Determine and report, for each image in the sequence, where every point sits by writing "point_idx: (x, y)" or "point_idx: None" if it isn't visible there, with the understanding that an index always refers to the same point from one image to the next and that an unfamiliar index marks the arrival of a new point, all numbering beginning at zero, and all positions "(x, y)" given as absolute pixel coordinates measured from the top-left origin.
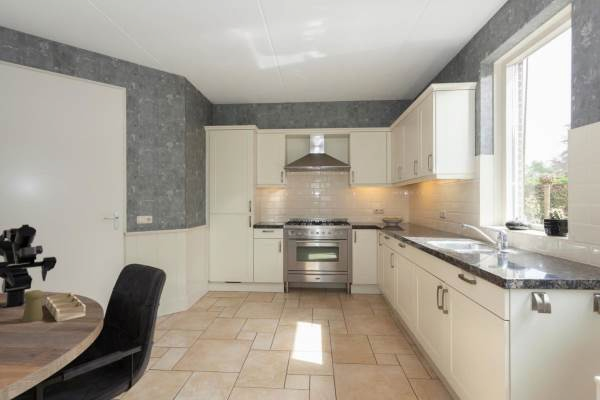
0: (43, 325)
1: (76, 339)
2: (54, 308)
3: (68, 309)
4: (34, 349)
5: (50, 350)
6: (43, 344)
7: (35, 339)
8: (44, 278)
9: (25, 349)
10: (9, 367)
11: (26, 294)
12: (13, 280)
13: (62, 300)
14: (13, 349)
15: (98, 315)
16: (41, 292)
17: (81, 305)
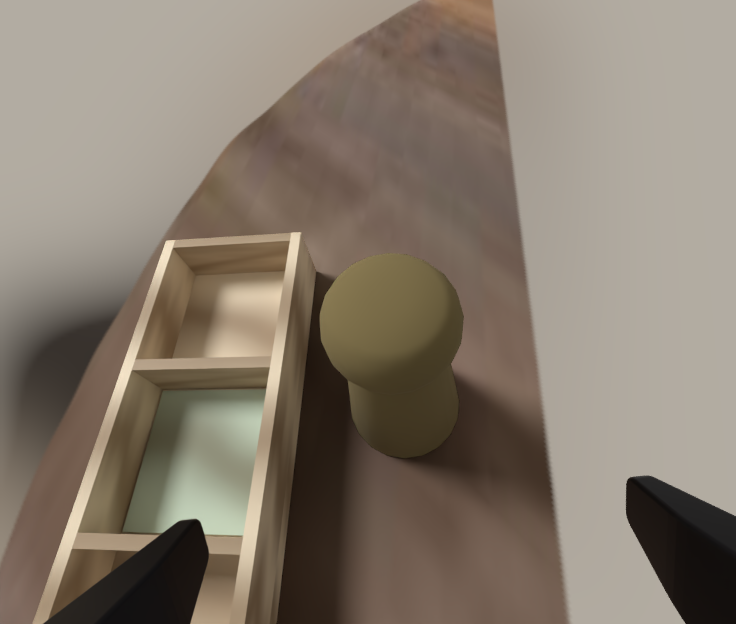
0: None
1: (322, 81)
2: (290, 326)
3: (250, 236)
4: (430, 75)
5: (396, 53)
6: (405, 92)
7: (421, 137)
8: (176, 530)
9: (452, 85)
10: (487, 20)
11: (449, 284)
12: (693, 524)
13: None
14: (484, 100)
15: (160, 245)
16: (332, 284)
17: (165, 293)
